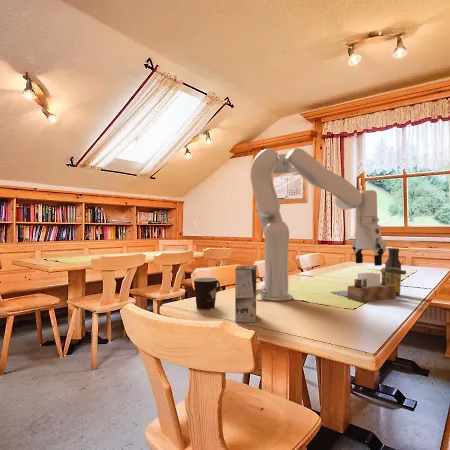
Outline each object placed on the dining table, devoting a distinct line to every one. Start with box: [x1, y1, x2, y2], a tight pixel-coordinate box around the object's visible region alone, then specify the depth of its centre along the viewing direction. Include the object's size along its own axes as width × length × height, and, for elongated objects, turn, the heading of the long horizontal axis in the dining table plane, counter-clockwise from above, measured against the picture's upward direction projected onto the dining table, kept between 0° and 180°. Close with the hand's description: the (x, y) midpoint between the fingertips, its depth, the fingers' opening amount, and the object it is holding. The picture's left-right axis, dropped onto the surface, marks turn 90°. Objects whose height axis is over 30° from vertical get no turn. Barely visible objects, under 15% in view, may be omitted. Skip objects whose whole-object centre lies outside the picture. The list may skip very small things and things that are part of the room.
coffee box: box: [234, 265, 257, 323], centre depth 103 cm, size 9×6×16 cm
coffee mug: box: [193, 277, 221, 311], centre depth 117 cm, size 12×9×10 cm
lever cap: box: [357, 272, 381, 288], centre depth 130 cm, size 7×4×5 cm, turn 112°
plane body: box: [347, 272, 397, 303], centre depth 131 cm, size 18×7×10 cm, turn 112°
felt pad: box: [330, 289, 348, 298], centre depth 140 cm, size 12×9×1 cm
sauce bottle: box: [384, 247, 402, 297], centre depth 138 cm, size 6×6×20 cm
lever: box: [379, 267, 407, 276], centre depth 130 cm, size 10×3×1 cm, turn 28°
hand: (368, 264), depth 130 cm, fingers open, 9 cm apart
